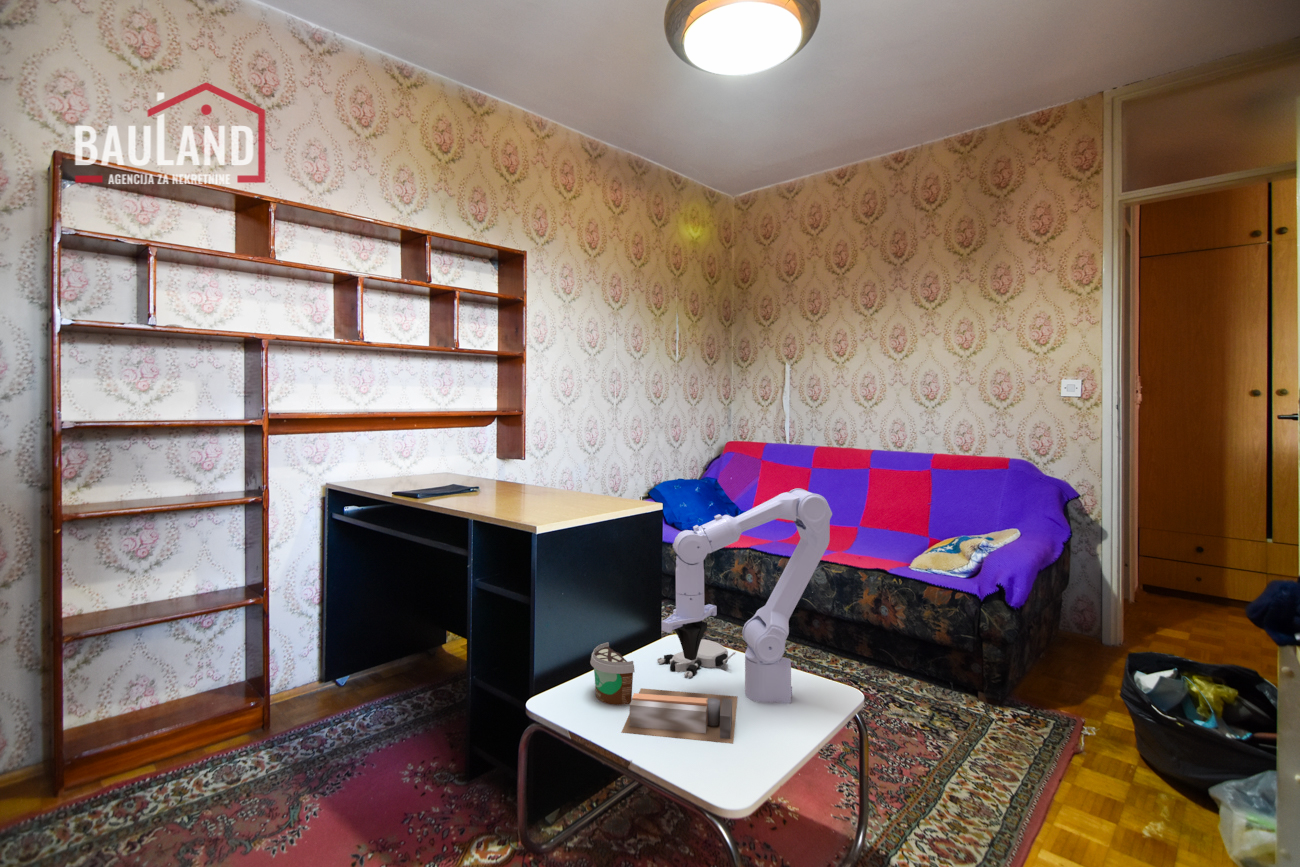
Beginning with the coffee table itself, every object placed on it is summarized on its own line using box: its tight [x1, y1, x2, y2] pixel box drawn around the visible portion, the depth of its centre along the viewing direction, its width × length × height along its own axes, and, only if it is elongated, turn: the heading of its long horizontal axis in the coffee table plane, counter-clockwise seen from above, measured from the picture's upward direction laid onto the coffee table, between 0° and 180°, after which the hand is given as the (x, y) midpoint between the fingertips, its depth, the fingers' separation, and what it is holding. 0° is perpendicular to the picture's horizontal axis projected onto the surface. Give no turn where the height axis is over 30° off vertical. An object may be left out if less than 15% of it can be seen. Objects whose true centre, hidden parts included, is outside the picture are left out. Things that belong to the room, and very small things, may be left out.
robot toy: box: [656, 638, 736, 678], centre depth 141 cm, size 12×4×15 cm
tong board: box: [620, 688, 739, 745], centre depth 117 cm, size 20×18×5 cm
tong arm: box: [632, 692, 720, 726], centre depth 114 cm, size 16×3×4 cm, turn 81°
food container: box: [589, 642, 636, 706], centre depth 124 cm, size 12×6×10 cm, turn 29°
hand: (690, 658), depth 123 cm, fingers closed
